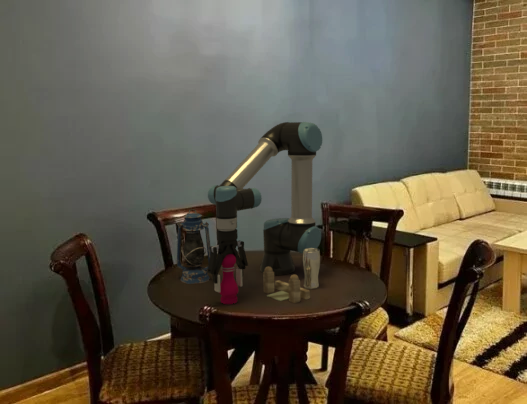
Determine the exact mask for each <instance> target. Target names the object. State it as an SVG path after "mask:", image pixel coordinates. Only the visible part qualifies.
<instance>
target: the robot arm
mask: <svg viewBox="0 0 527 404" xmlns="http://www.w3.org/2000/svg"><path fill="white" fill-rule="evenodd" d="M257 141H258V142H257V143H258V144H257V145H256V146H255V147H254V148H253V149H252V150H251V151H250V153H248V154H247V155H246V157H245V158H244V159H243V160H241V162H240V163H239V164H238V165H237V166H236V168H235V169H234V170H233V171H232V172H231V173H230V174H229V175H228V176H227V177H226V178H225V179H224V180H223V181H222V183H220V184H219V185H218V184H217V185H212V186H211V187H210V188H209V189H208V192H207V198H208V201H209V202H210V203H211V204H212V205H215V219H216V220H215V221H216V226H215V227H216V229H217V230H216V240H217V244H216V245H214V246H213V245H210V246H211V247H210V251H211V254H210V259H209V265H208V264H207V267H208V271H207V273H208V275H209V274H210V275H212V283H213V284H214V285H213V286H214V291H215V292H217V293H219V292H221V291H220V284H221V275H220V274H219V272H220V269H221V266H222V262H223V259H224V258H225V257H226V255H228V254H233V255H234V256H235V257H236V263H235V264H236V266H237V267H236V268H235V272H236V273H235V276H236V277H235V278H236V279H235V281H236V283H237V285H238V287H243V277H244V273H245V272H244V270H245V269H246V267H248V266H249V263H248V260H247V259H248V258H247V254H246V250H245V242H244V241H243V240H238V229H237V228H238V212H240V211H244V210H250V209H251V210H253V209H255V208H257V207H259V206H260V205H261V203H262V199H263V198H262V193H261V191H260V190H259V189H258V188H255V187H249V188H245V187H246V186H247V184H248V183H249V182H250V181H251V180H252V179H253V178H254V177H255V176H256V174H258V172H259V171H261V169H262V168H263V167H264V166H265V165H266V164H267V162H268V161H269V160H270V159H271V158H272V157H276V156H277V155H278V154H279V153H280V152H282V151H287V157H289V158H290V160H291V186H290V187H291V196H290V197H291V198H290V199H291V200H290V201H291V206H290V207H291V208H290V209H291V213H290V215H291V216H290V218H289V217H278V218H272V219H267V220H265V221H264V223H263V229H262V231H263V255H262V261H261V264H260V272H261V273H262V274H263V272H265V271H264V270H265V268H266V267H268V266H269V267H271V268H272V269H273V272H274V276H283V275H289V274H292V273H294V272H295V270H296V269H295V263H294V260H293V257H292V254H291V253H292V251H293V252H296V253H299V254H303V249H306V248H317V249H318V247H319V246H320V244H321V240H322V232H321V230H320V228H319V227H318V226H316V220H315V218H314V217H313V159H314V158H315V157H317V151H319V150H320V149H321V146H323V134H322V131H321V129H320V128H319V126H318V125H317V124H316V123H313V122H307V121H303V122H301V121H300V122H299V121H298V122H297V121H295V122H294V121H293V122H289V121H287V122H286V121H285V122H280V123H279V124H276V125H275V126H273V127H271V128H270V129H269V130H268V131H266V132H265V133H264V134H263V135H262V136H261V137H260V138H259V139H258V140H257Z"/></svg>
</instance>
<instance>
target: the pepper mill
mask: <svg viewBox="0 0 527 404" xmlns="http://www.w3.org/2000/svg"><path fill="white" fill-rule="evenodd" d="M235 264H236V257H235V256H234V255H233V254H228V255H226V257H225V258H224V259H223V262H222V265H221V267H220V269H221V271H222V279H221V281H220V291H221V292H218V293H219V294H220V303H221V304H222V303H223V305H234V304H236V303H238V296H237V295H238V293H239V292H240V291H239V286H238V285H237V283H236V279H235V275H234V274H235V271H236V268H235V267H236V266H235ZM233 303H234V304H233Z"/></svg>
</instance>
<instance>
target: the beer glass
mask: <svg viewBox="0 0 527 404" xmlns="http://www.w3.org/2000/svg"><path fill="white" fill-rule="evenodd" d="M320 254H321V253H320V249H319V248H318V247H317V248H306V249H303V253H302V260H301V261H302V268H303V269H302V270H303V273H304V274H303V275H304V282H303V287H304V289H308V290H309V289H313V290H314V289H318V288H319V287H320V284H319V273H320V266H321V255H320Z"/></svg>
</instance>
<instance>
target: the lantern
mask: <svg viewBox="0 0 527 404" xmlns="http://www.w3.org/2000/svg"><path fill="white" fill-rule="evenodd" d="M191 211H194V212H193V213H191ZM202 217H203V214H201V213H198V212H197V210H196V209H193V208H191V209H189V210H188V212H187V213H186V214H185V215H183V218H184V220H183V222H182V221H181V222H180V221H178V222H177V224H176V225H177V244H176V245H177V249H176V265H177V268H178V269H180V270H182V275H181V277H180V282H181V283H183V284H188V285H200V284H204V283H207V282H209V281H210V280H211V279H210V276H209V273H208V272H207V271H208V265H209V259H210V254H211V251H210V247H211V246H212V245H211V238H210V230H209V223H208V221H206V222H205V223H204V222H203V220H202ZM202 230H204V231H205V232H204V233H205V242H206V247H205V246H204V245H205V244H204V241H203V237H202V234H201V231H202ZM182 231H186V235H185V240H184V244H182ZM206 254H207V262H208V263H207V266H206V267H203V266H202V265H203V262H204V260H205V255H206ZM182 256H183V262H184V263H185V264H186V266H185V265H183V264H182V261H181V260H182ZM209 279H210V280H209Z"/></svg>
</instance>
